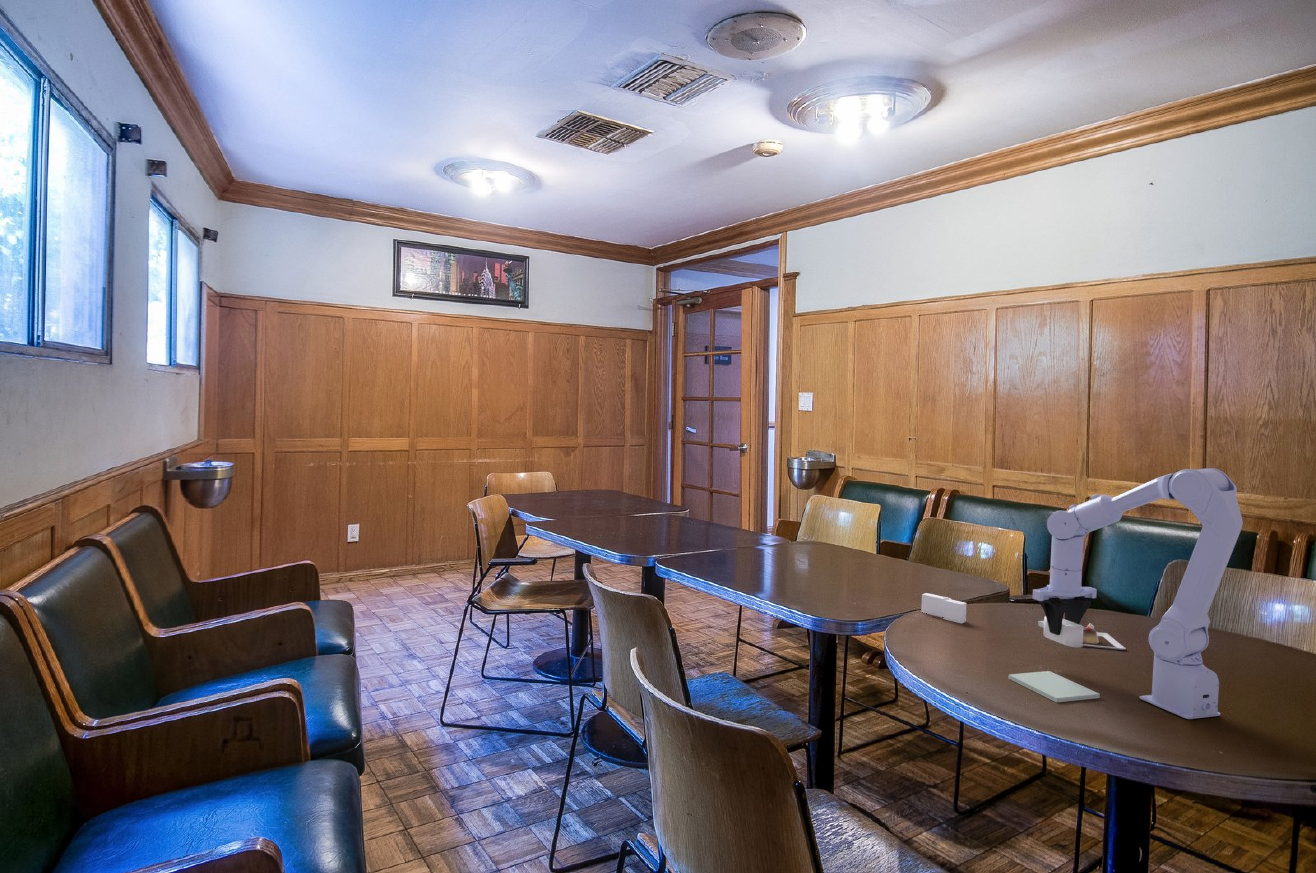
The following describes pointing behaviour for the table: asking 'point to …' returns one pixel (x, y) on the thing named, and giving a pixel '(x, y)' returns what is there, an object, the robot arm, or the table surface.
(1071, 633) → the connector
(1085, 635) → the dessert
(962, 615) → the white upright tiles
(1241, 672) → the table surface
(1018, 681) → the sage pad
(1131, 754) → the table surface
